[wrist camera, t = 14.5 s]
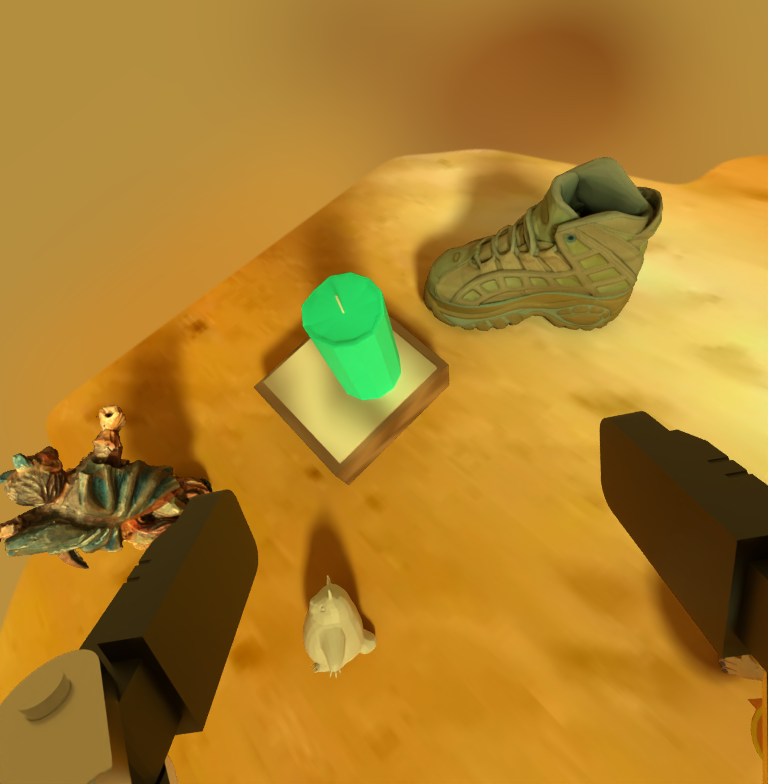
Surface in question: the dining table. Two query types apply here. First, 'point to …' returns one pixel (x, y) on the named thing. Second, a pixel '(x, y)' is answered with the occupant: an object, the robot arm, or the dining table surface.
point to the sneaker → (553, 256)
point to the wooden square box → (352, 403)
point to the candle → (353, 334)
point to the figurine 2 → (334, 630)
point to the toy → (748, 671)
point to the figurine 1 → (92, 499)
